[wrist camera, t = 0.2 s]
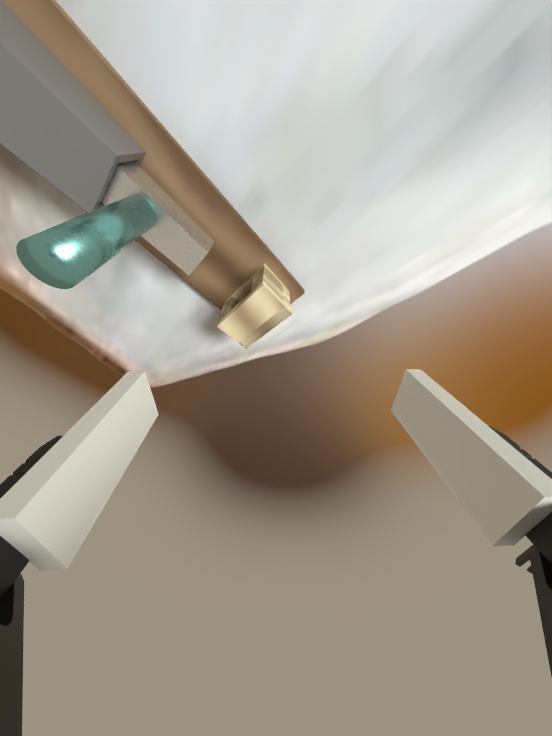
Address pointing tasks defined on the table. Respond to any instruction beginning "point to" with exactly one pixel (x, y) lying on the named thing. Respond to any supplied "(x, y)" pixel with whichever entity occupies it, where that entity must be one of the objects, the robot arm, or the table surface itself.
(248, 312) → the socket block
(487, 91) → the table surface
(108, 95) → the base board
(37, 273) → the bar with teal cylinder
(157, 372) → the table surface
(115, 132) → the outer sleeve
